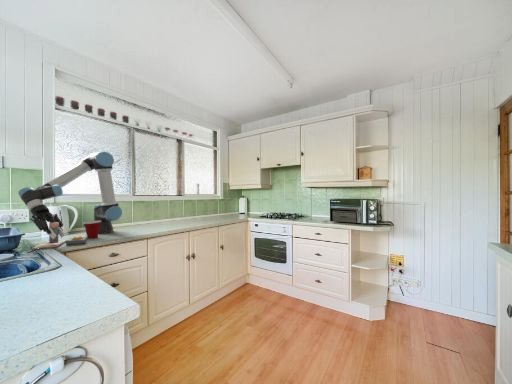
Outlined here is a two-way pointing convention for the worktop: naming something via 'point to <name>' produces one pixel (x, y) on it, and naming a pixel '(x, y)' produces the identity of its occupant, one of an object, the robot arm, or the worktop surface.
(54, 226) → the marker
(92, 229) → the plastic cup
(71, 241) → the button housing
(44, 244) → the picture board
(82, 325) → the worktop surface
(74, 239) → the button
